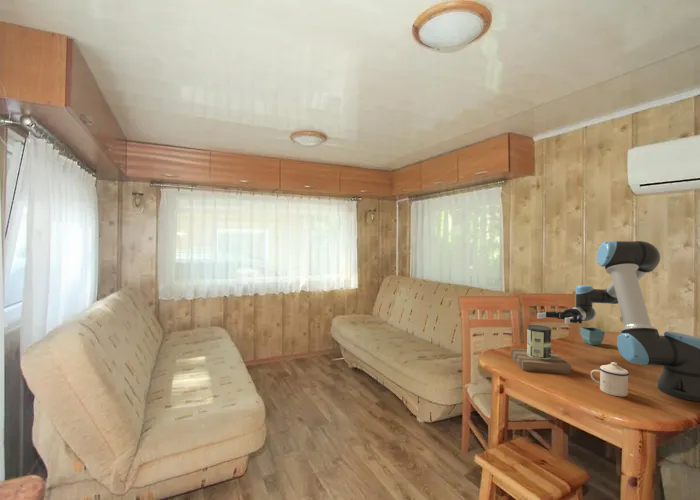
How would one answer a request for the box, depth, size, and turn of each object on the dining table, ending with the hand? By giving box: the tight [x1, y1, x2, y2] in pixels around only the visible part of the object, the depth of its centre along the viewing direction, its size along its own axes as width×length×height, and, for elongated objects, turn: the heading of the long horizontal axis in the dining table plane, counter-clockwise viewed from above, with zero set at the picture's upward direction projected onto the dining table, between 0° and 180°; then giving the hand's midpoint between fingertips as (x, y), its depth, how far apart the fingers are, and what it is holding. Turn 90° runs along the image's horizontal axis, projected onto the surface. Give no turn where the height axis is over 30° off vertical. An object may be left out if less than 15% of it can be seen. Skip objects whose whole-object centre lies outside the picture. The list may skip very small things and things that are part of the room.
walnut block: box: [510, 348, 572, 375], centre depth 159 cm, size 20×20×4 cm
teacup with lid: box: [590, 361, 630, 398], centre depth 130 cm, size 12×9×12 cm
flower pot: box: [580, 326, 606, 346], centre depth 193 cm, size 9×9×9 cm
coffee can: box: [526, 324, 552, 360], centre depth 159 cm, size 10×10×14 cm
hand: (551, 318), depth 165 cm, fingers open, 13 cm apart
